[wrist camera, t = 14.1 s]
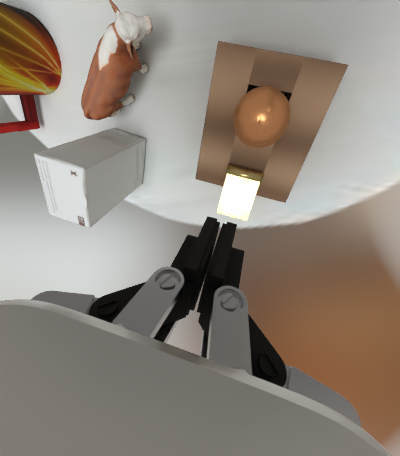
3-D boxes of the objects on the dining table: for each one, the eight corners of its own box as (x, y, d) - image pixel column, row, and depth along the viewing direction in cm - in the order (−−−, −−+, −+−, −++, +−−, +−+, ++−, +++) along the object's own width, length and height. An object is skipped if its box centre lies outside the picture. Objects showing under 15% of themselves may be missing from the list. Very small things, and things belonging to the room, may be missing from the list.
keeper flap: (228, 163, 26) (227, 165, 25) (263, 172, 25) (264, 174, 24) (216, 208, 28) (215, 212, 27) (248, 217, 28) (248, 221, 27)
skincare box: (114, 127, 33) (28, 146, 21) (149, 139, 33) (82, 165, 21) (114, 176, 38) (44, 214, 26) (144, 186, 38) (87, 231, 26)
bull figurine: (177, 40, 25) (147, 22, 19) (122, 123, 33) (86, 131, 26) (151, 6, 24) (109, -27, 18) (100, 99, 31) (56, 101, 25)
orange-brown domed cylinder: (247, 84, 26) (241, 81, 19) (290, 92, 25) (300, 92, 18) (236, 130, 28) (227, 141, 22) (274, 138, 28) (277, 153, 21)
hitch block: (227, 51, 25) (218, 41, 20) (330, 70, 23) (348, 64, 19) (205, 166, 33) (195, 178, 28) (281, 185, 31) (285, 202, 26)
